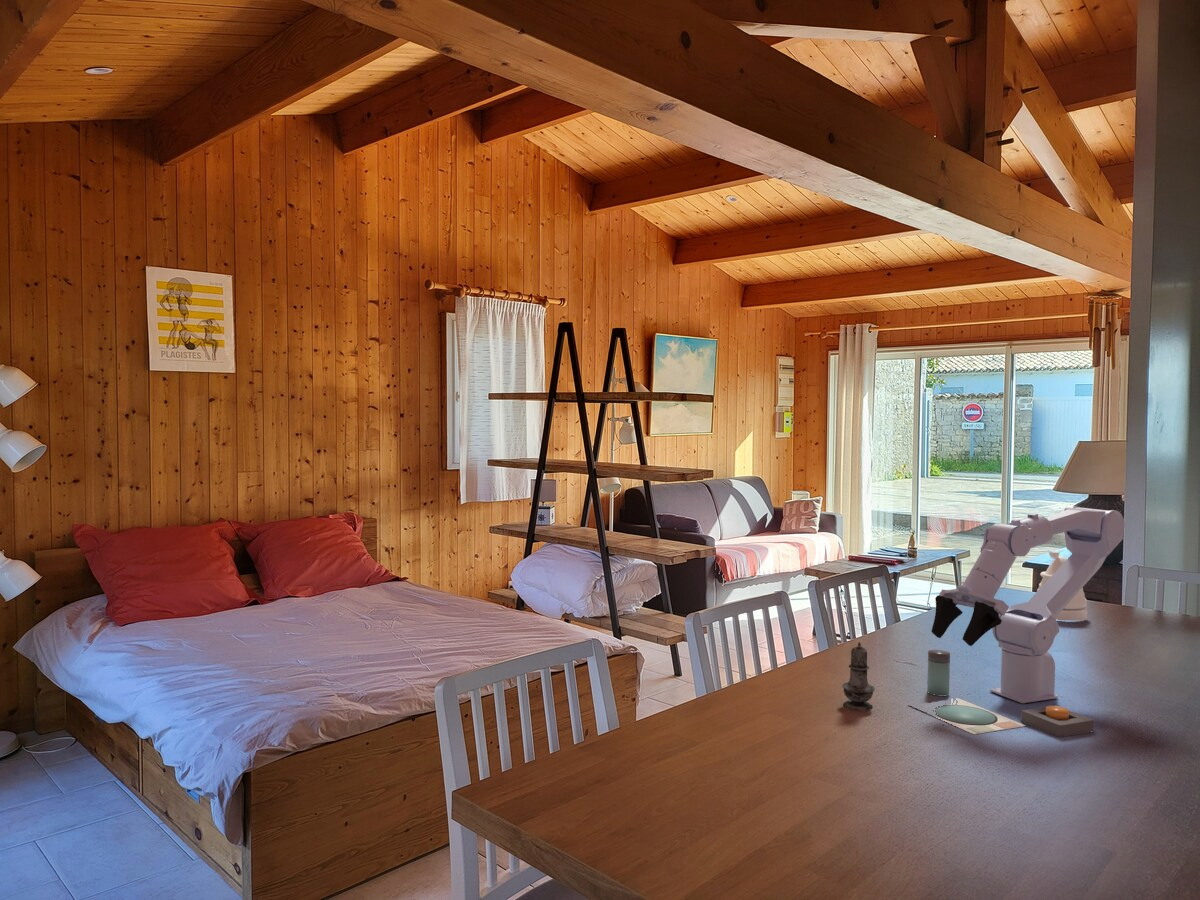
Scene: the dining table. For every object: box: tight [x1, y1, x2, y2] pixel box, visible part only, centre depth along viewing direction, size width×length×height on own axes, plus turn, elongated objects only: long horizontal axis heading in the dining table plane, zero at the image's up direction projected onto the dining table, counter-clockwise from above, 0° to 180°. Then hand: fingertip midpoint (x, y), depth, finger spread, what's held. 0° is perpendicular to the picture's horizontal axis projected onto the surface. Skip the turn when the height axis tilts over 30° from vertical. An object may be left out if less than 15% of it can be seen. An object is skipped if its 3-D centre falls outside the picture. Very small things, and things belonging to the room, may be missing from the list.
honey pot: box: [1036, 550, 1088, 620], centre depth 239 cm, size 13×13×18 cm
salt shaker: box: [841, 641, 876, 712], centre depth 162 cm, size 6×6×12 cm
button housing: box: [1020, 706, 1095, 738], centre depth 153 cm, size 8×8×2 cm
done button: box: [1045, 705, 1070, 721], centre depth 153 cm, size 4×4×2 cm
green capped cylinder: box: [926, 649, 951, 696], centre depth 171 cm, size 4×4×8 cm
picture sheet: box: [933, 697, 1027, 735], centre depth 158 cm, size 12×16×1 cm
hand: (950, 638), depth 161 cm, fingers open, 7 cm apart
